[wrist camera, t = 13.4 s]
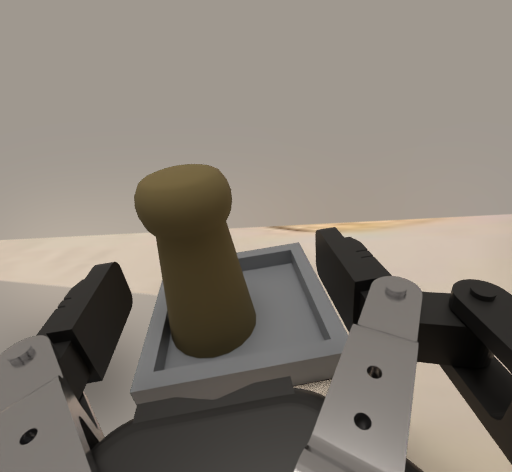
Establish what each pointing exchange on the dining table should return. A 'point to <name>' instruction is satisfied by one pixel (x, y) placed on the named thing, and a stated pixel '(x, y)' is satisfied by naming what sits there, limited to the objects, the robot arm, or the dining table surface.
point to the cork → (197, 258)
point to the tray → (261, 340)
